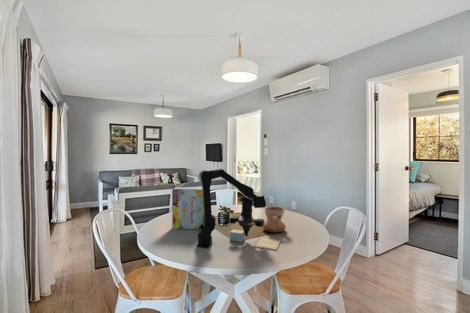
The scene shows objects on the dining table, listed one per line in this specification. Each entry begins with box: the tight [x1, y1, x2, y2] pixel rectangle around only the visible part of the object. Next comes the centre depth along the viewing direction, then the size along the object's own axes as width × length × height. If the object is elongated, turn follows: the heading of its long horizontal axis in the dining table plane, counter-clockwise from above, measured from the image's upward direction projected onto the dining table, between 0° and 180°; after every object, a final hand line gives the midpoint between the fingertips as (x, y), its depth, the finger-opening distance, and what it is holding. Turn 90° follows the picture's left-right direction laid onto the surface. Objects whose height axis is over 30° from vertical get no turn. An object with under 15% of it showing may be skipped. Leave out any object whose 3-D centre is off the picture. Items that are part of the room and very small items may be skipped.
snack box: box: [171, 186, 204, 230], centre depth 158 cm, size 22×9×26 cm, turn 84°
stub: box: [229, 228, 246, 243], centre depth 138 cm, size 7×5×5 cm
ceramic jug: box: [262, 205, 287, 234], centre depth 155 cm, size 18×14×14 cm
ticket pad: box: [253, 237, 282, 251], centre depth 132 cm, size 12×13×1 cm
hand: (246, 236), depth 136 cm, fingers closed
